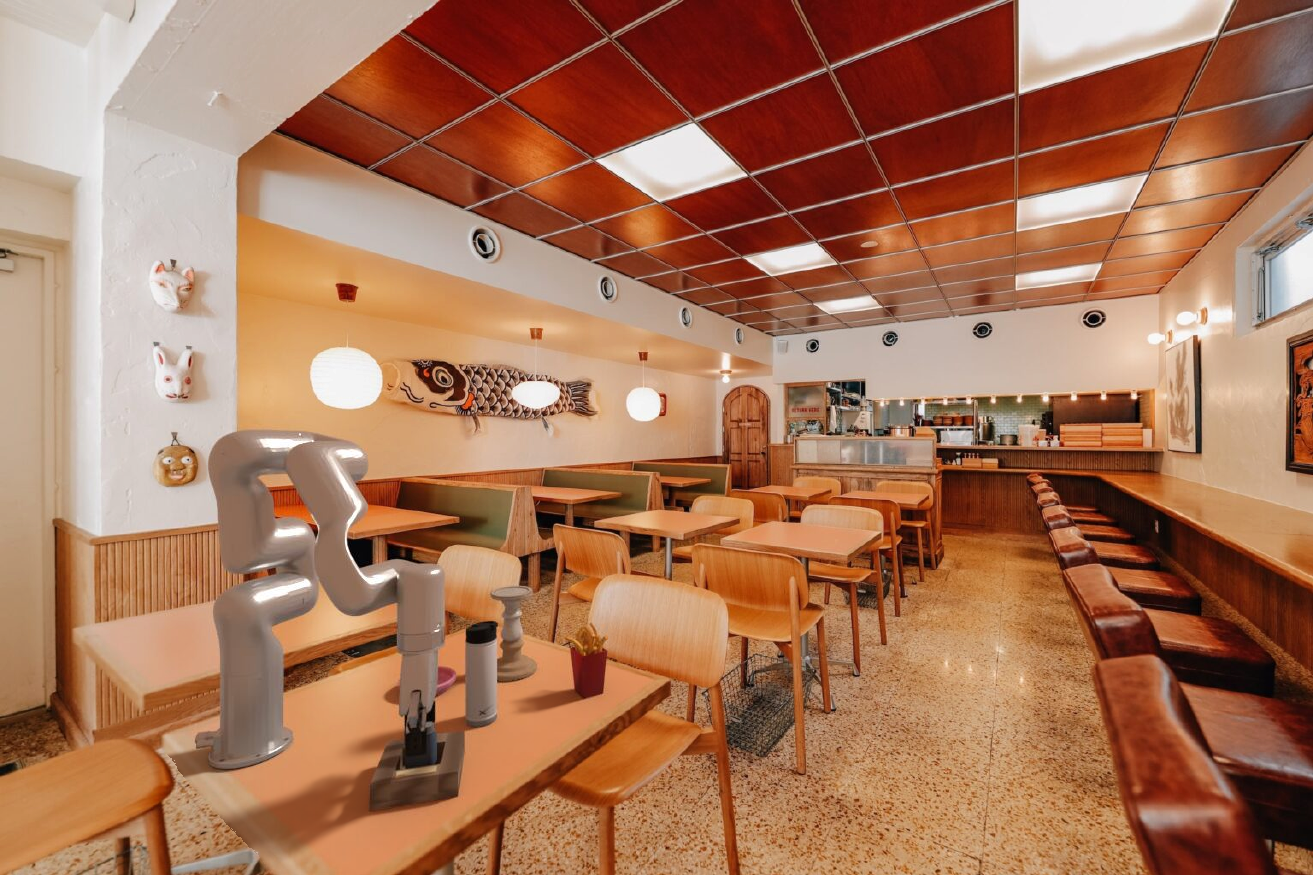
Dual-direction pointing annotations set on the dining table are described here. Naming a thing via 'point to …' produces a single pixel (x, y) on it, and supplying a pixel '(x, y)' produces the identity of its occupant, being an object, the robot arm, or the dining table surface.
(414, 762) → the vaping device
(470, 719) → the travel mug
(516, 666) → the candle holder
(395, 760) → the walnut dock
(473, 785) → the dining table surface
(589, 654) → the french fries
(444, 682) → the saucer
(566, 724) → the dining table surface
